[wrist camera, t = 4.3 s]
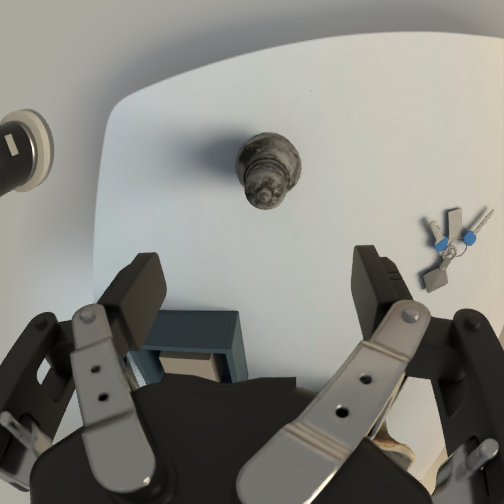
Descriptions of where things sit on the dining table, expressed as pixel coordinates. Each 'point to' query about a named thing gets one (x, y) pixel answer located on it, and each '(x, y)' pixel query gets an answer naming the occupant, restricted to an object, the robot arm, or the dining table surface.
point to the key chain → (438, 275)
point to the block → (193, 364)
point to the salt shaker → (267, 169)
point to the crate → (194, 342)
